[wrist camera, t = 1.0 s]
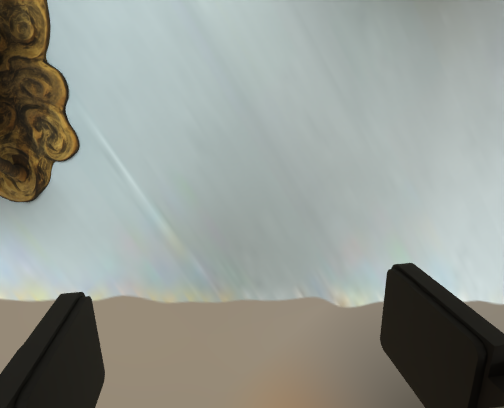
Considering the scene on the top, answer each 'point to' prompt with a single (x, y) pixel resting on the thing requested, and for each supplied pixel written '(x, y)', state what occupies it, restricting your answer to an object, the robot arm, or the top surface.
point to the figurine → (30, 102)
